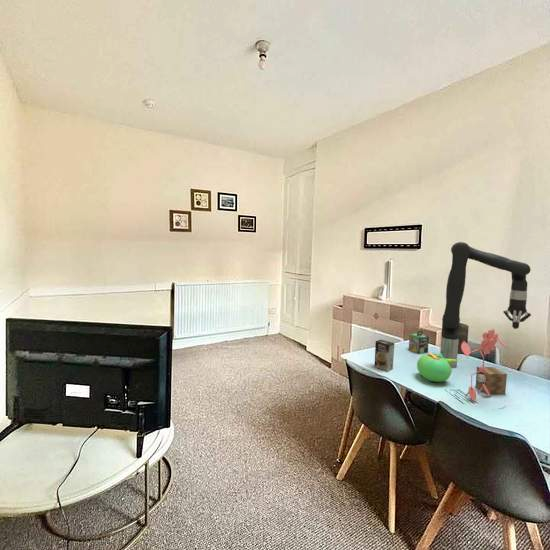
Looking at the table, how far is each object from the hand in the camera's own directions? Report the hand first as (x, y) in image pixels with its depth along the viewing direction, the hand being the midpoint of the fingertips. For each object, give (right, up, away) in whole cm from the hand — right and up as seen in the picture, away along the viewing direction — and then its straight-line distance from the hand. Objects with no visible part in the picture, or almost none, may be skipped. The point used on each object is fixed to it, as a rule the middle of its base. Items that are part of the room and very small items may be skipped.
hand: (515, 328), depth 178 cm
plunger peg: (-27, -25, -18) cm, 41 cm away
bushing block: (-26, -29, -18) cm, 43 cm away
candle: (-8, -23, +38) cm, 46 cm away
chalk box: (-37, -23, +40) cm, 59 cm away
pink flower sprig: (-36, -30, -29) cm, 55 cm away
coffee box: (-71, -26, +10) cm, 76 cm away
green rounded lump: (-49, -27, -5) cm, 56 cm away
